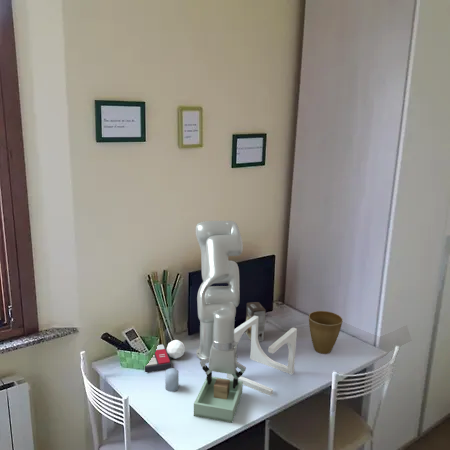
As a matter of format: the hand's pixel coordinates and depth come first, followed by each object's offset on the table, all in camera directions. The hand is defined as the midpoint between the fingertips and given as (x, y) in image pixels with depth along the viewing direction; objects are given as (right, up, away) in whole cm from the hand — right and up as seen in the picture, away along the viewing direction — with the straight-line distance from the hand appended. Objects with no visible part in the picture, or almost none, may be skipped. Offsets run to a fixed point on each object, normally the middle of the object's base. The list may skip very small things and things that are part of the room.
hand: (222, 384), depth 176 cm
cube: (0, -4, +1) cm, 4 cm away
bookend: (+16, -2, +16) cm, 23 cm away
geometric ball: (-20, +2, +28) cm, 35 cm away
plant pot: (+45, +3, +38) cm, 59 cm away
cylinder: (-20, -3, +6) cm, 21 cm away
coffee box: (+15, +6, +47) cm, 50 cm away
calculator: (-29, +1, +24) cm, 38 cm away
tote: (-1, -6, -3) cm, 7 cm away
